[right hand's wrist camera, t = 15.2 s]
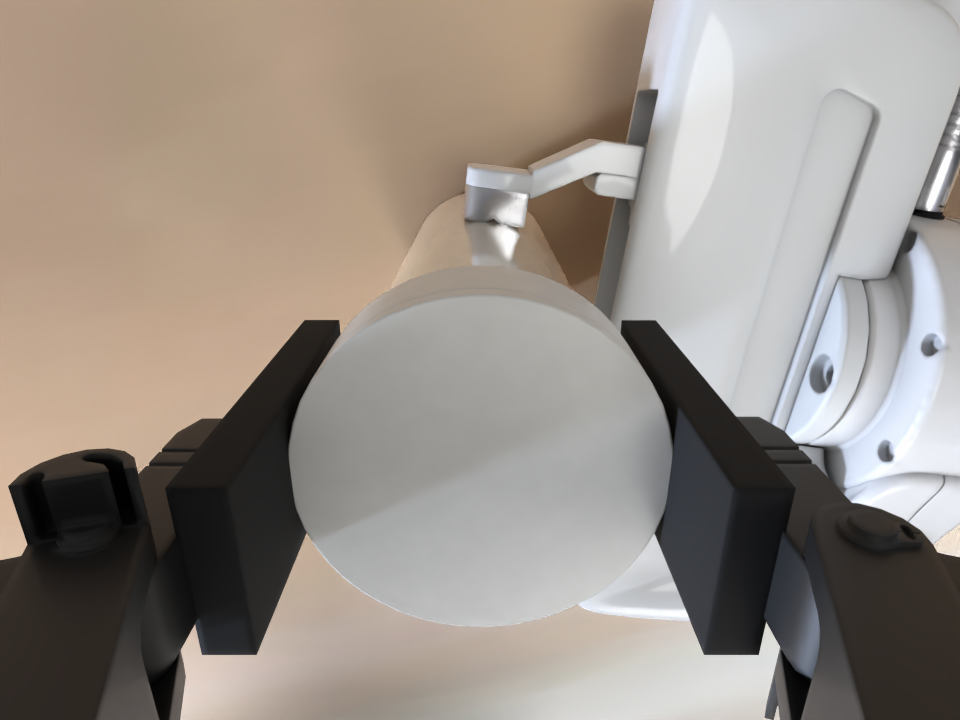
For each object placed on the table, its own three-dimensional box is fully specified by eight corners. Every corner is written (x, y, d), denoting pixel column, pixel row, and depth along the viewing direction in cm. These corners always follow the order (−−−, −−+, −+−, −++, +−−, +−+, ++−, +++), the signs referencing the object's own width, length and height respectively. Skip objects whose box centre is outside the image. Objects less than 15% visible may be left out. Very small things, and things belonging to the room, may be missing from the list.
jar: (486, 160, 24) (494, 237, 9) (574, 265, 25) (698, 466, 11) (385, 254, 25) (259, 445, 11) (475, 348, 26) (469, 625, 12)
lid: (250, 437, 12) (211, 493, 10) (465, 186, 10) (462, 201, 8) (492, 606, 14) (493, 680, 12) (714, 414, 12) (755, 467, 10)
